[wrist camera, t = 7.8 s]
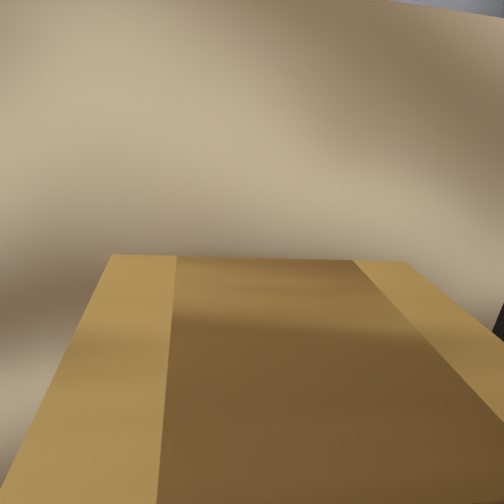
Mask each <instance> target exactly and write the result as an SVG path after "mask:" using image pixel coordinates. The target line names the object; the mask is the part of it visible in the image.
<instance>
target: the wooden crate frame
mask: <svg viewBox="0 0 504 504" xmlns="http://www.w3.org/2000/svg"><path fill="white" fill-rule="evenodd" d="M0 504H504V342H503V341H502V340H501V339H499V338H498V337H497V336H496V335H494V334H493V333H492V332H491V331H490V330H488V329H487V328H486V327H485V326H483V325H482V324H481V323H480V322H479V321H477V320H476V319H475V318H474V317H472V316H471V315H470V314H469V313H467V312H466V311H465V310H464V309H463V308H461V307H460V306H459V305H458V304H456V303H455V302H454V301H453V300H452V299H450V298H449V297H448V296H447V295H445V294H444V293H443V292H442V291H441V290H439V289H438V288H437V287H436V286H434V285H433V284H432V283H431V282H429V281H428V280H427V279H426V278H425V277H423V276H422V275H421V274H420V273H418V272H417V271H416V270H415V269H414V268H412V267H411V266H410V265H409V264H407V263H406V262H405V261H366V260H325V259H285V258H245V257H204V256H164V255H123V254H112V255H111V257H110V259H109V261H108V263H107V265H106V267H105V269H104V271H103V274H102V276H101V278H100V280H99V282H98V284H97V286H96V288H95V290H94V292H93V295H92V297H91V299H90V301H89V303H88V305H87V307H86V309H85V311H84V314H83V316H82V318H81V320H80V322H79V324H78V326H77V328H76V330H75V333H74V335H73V337H72V339H71V341H70V343H69V345H68V347H67V349H66V351H65V354H64V356H63V358H62V360H61V362H60V364H59V366H58V368H57V370H56V373H55V375H54V377H53V379H52V381H51V383H50V385H49V387H48V389H47V391H46V394H45V396H44V398H43V400H42V402H41V404H40V406H39V408H38V410H37V413H36V415H35V417H34V419H33V421H32V423H31V425H30V427H29V429H28V432H27V434H26V436H25V438H24V440H23V442H22V444H21V446H20V448H19V450H18V453H17V455H16V457H15V459H14V461H13V463H12V465H11V467H10V469H9V472H8V474H7V476H6V478H5V480H4V482H3V484H2V486H1V488H0Z"/></svg>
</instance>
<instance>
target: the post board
mask: <svg viewBox="0 0 504 504" xmlns="http://www.w3.org/2000/svg"><path fill="white" fill-rule="evenodd" d="M112 254H123V255H164V256H204V257H245V258H285V259H325V260H366V261H405V262H406V263H407V264H409V265H410V266H411V267H412V268H414V269H415V270H416V271H417V272H418V273H420V274H421V275H422V276H423V277H425V278H426V279H427V280H428V281H429V282H431V283H432V284H433V285H434V286H436V287H437V288H438V289H439V290H441V291H442V292H443V293H444V294H445V295H447V296H448V297H449V298H450V299H452V300H453V301H454V302H455V303H456V304H458V305H459V306H460V307H461V308H463V309H464V310H465V311H466V312H467V313H469V314H470V315H471V316H472V317H474V318H475V319H476V320H477V321H479V322H480V323H481V324H482V325H483V326H485V327H486V328H487V329H488V330H490V331H491V332H492V330H493V327H494V325H495V322H496V320H497V317H498V315H499V312H500V310H501V307H502V305H503V303H504V18H499V17H492V16H486V15H479V14H473V13H466V12H460V11H453V10H447V9H440V8H434V7H428V6H421V5H415V4H408V3H402V2H395V1H389V0H0V488H1V486H2V484H3V482H4V480H5V478H6V476H7V474H8V472H9V469H10V467H11V465H12V463H13V461H14V459H15V457H16V455H17V453H18V450H19V448H20V446H21V444H22V442H23V440H24V438H25V436H26V434H27V432H28V429H29V427H30V425H31V423H32V421H33V419H34V417H35V415H36V413H37V410H38V408H39V406H40V404H41V402H42V400H43V398H44V396H45V394H46V391H47V389H48V387H49V385H50V383H51V381H52V379H53V377H54V375H55V373H56V370H57V368H58V366H59V364H60V362H61V360H62V358H63V356H64V354H65V351H66V349H67V347H68V345H69V343H70V341H71V339H72V337H73V335H74V333H75V330H76V328H77V326H78V324H79V322H80V320H81V318H82V316H83V314H84V311H85V309H86V307H87V305H88V303H89V301H90V299H91V297H92V295H93V292H94V290H95V288H96V286H97V284H98V282H99V280H100V278H101V276H102V274H103V271H104V269H105V267H106V265H107V263H108V261H109V259H110V257H111V255H112Z"/></svg>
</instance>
